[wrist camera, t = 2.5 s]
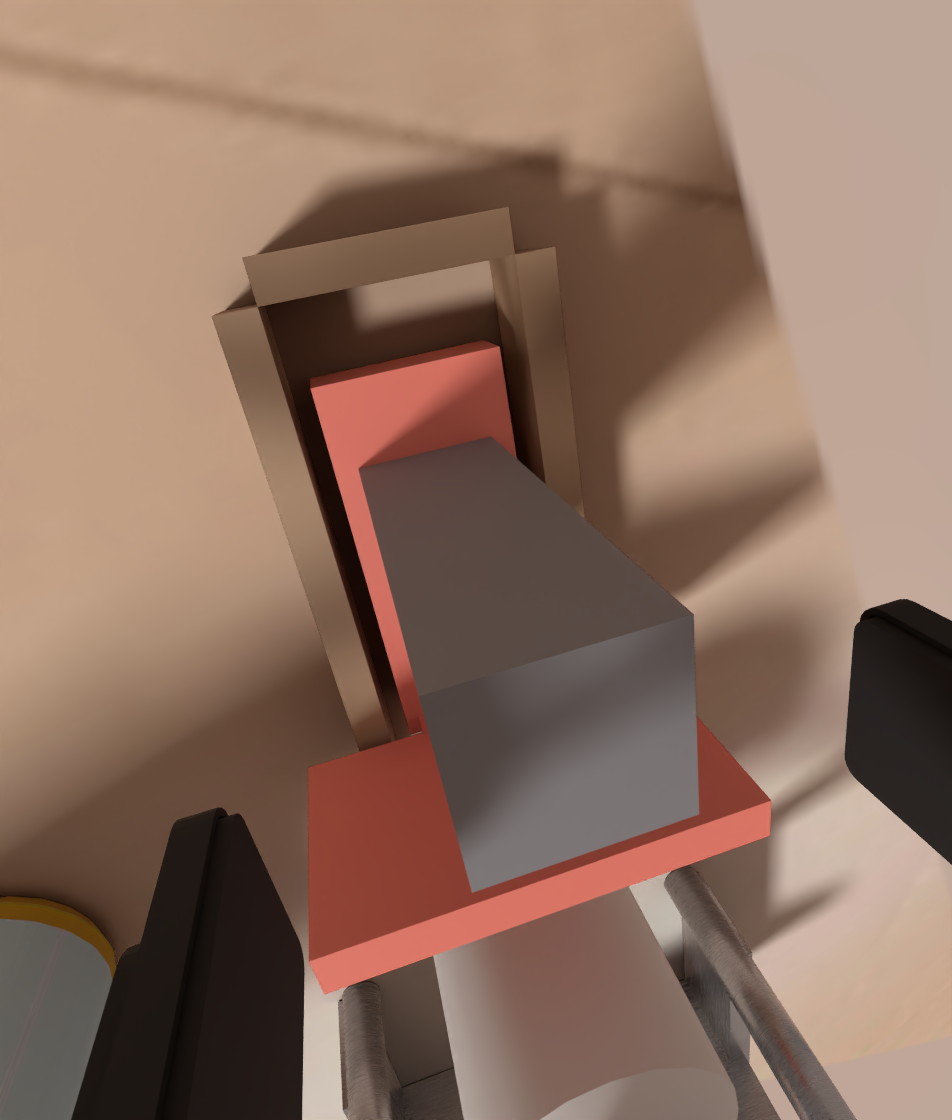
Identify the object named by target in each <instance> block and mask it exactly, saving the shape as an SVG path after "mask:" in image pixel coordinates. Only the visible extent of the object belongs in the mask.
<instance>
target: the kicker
mask: <svg viewBox="0 0 952 1120" xmlns="http://www.w3.org/2000/svg"><path fill="white" fill-rule="evenodd" d="M310 389H311V392H312V396H313V399H314V403H315V406H316V409H317V413H318V416H319V420H320V423H321V427H322V430H323V434H324V437H325V441H326V444H327V448H328V451H329V454H330V458H331V461H332V465H333V468H334V472H335V475H336V479H337V482H338V486H339V489H340V493H341V496H342V499H343V503H344V506H345V510H346V513H347V517H348V520H349V524H350V527H351V531H352V534H353V538H354V541H355V544H356V548H357V551H358V555H359V558H360V562H361V565H362V569H363V572H364V576H365V579H366V583H367V586H368V589H369V593H370V596H371V600H372V603H373V607H374V610H375V614H376V617H377V621H378V624H379V627H380V631H381V634H382V638H383V641H384V645H385V648H386V652H387V655H388V659H389V662H390V666H391V669H392V672H393V676H394V679H395V683H396V686H397V690H398V693H399V697H400V700H401V704H402V707H403V711H404V714H405V717H406V721H407V724H408V728H409V731H410V735H411V734H414V733H417V732H421V731H422V732H423V733H420V734H416V735H413V736H410V737H407V738H403V739H400V740H397V741H393V742H390V743H387V744H384V745H380V746H377V747H374V748H371V749H367V750H364V751H361V752H358V753H354V754H351V755H348V756H344V757H341V758H338V759H335V760H331V761H328V762H325V763H322V764H318V765H315V766H312V767H308V873H309V963H310V965H311V967H312V969H313V971H314V974H315V976H316V978H317V980H318V982H319V984H320V986H321V988H322V990H323V992H324V994H327V993H330V992H333V991H336V990H339V989H341V988H344V987H347V986H350V985H353V984H355V983H358V982H361V981H364V980H367V979H369V978H372V977H375V976H378V975H381V974H383V973H386V972H389V971H392V970H395V969H397V968H400V967H403V966H406V965H409V964H411V963H414V962H417V961H420V960H423V959H426V958H428V957H431V956H434V955H437V954H440V953H442V952H445V951H448V950H451V949H454V948H456V947H459V946H462V945H465V944H468V943H470V942H473V941H476V940H479V939H482V938H484V937H487V936H490V935H493V934H496V933H498V932H501V931H504V930H507V929H510V928H512V927H515V926H518V925H521V924H524V923H526V922H529V921H532V920H535V919H538V918H541V917H543V916H546V915H549V914H552V913H555V912H557V911H560V910H563V909H566V908H569V907H571V906H574V905H577V904H580V903H583V902H585V901H588V900H591V899H594V898H597V897H599V896H602V895H605V894H608V893H611V892H613V891H616V890H619V889H622V888H625V887H627V886H630V885H633V884H636V883H639V882H642V881H644V880H647V879H650V878H653V877H656V876H658V875H661V874H664V873H667V872H670V871H672V870H675V869H678V868H681V867H684V866H686V865H689V864H692V863H695V862H698V861H700V860H703V859H706V858H709V857H712V856H714V855H717V854H720V853H723V852H726V851H728V850H731V849H734V848H737V847H740V846H742V845H745V844H748V843H751V842H754V841H757V840H759V839H762V838H765V837H768V836H770V821H771V800H770V799H769V797H768V796H767V795H766V794H765V793H764V792H763V791H762V790H761V788H760V787H759V786H758V785H757V784H756V783H755V782H754V780H753V779H752V778H751V777H750V776H749V775H748V774H747V773H746V771H745V770H744V769H743V768H742V767H741V766H740V765H739V763H738V762H737V761H736V760H735V759H734V758H733V757H732V756H731V754H730V753H729V752H728V751H727V750H726V749H725V748H724V746H723V745H722V744H721V743H720V742H719V741H718V740H717V739H716V737H715V736H714V735H713V734H712V733H711V732H710V731H709V729H708V728H707V727H706V726H705V725H704V724H703V723H702V722H701V720H700V719H699V718H698V717H697V716H696V684H695V648H694V614H693V613H691V612H690V611H689V610H688V609H687V608H686V607H685V606H683V605H682V604H681V603H680V602H679V601H678V600H677V599H675V598H674V597H673V596H672V595H671V594H670V593H669V592H668V591H666V590H665V589H664V588H663V587H662V586H661V585H660V584H658V583H657V582H656V581H655V580H654V579H653V578H652V577H650V576H649V575H648V574H647V573H646V572H645V571H644V570H643V569H641V568H640V567H639V566H638V565H637V564H636V563H635V562H633V561H632V560H631V559H630V558H629V557H628V556H627V555H625V554H624V553H623V552H622V551H621V550H620V549H619V548H618V547H616V546H615V545H614V544H613V543H612V542H611V541H610V540H608V539H607V538H606V537H605V536H604V535H603V534H602V533H600V532H599V531H598V530H597V529H596V528H595V527H594V526H593V525H591V524H590V523H589V522H588V521H587V520H586V519H585V518H583V517H582V516H581V515H580V514H579V513H578V512H577V511H575V510H574V509H573V508H572V507H571V506H570V505H569V504H568V503H566V502H565V501H564V500H563V499H562V498H561V497H560V496H558V495H557V494H556V493H555V492H554V491H553V490H552V489H550V488H549V487H548V486H547V485H546V484H545V483H544V482H543V481H541V480H540V479H539V478H538V477H537V476H536V475H535V474H533V473H532V472H531V471H530V470H529V469H528V468H527V467H525V466H524V465H523V464H522V463H521V462H520V461H519V460H518V459H517V457H516V450H515V444H514V437H513V431H512V424H511V418H510V411H509V405H508V398H507V392H506V385H505V379H504V372H503V366H502V359H501V353H500V346H497V345H494V344H492V343H489V342H487V341H484V340H481V341H477V342H472V343H468V344H463V345H459V346H454V347H450V348H445V349H441V350H436V351H432V352H427V353H423V354H418V355H413V356H409V357H404V358H400V359H395V360H391V361H386V362H382V363H377V364H373V365H368V366H364V367H359V368H355V369H350V370H346V371H341V372H337V373H332V374H327V375H323V376H318V377H314V378H310Z"/></svg>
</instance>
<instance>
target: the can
mask: <svg viewBox="0 0 952 1120" xmlns="http://www.w3.org/2000/svg"><path fill="white" fill-rule="evenodd" d="M433 957H434V962H435V967H436V973H437V978H438V983H439V989H440V994H441V999H442V1005H443V1010H444V1016H445V1021H446V1026H447V1032H448V1037H449V1042H450V1048H451V1053H452V1058H453V1064H454V1069H455V1074H456V1080H457V1085H458V1090H459V1096H460V1101H461V1106H462V1112H463V1117H464V1120H737V1117H738V1109H739V1108H738V1102H737V1097H736V1091H735V1087H734V1086H733V1084H732V1082H731V1080H730V1078H729V1076H728V1074H727V1072H726V1070H725V1068H724V1067H723V1065H722V1063H721V1061H720V1059H719V1057H718V1055H717V1053H716V1051H715V1049H714V1048H713V1046H712V1044H711V1042H710V1040H709V1038H708V1036H707V1034H706V1032H705V1031H704V1029H703V1027H702V1025H701V1023H700V1021H699V1019H698V1017H697V1015H696V1013H695V1012H694V1010H693V1008H692V1006H691V1004H690V1002H689V1000H688V998H687V996H686V994H685V993H684V991H683V989H682V987H681V985H680V983H679V981H678V979H677V977H676V976H675V974H674V972H673V970H672V968H671V966H670V964H669V962H668V960H667V958H666V957H665V955H664V953H663V951H662V949H661V947H660V945H659V943H658V941H657V939H656V938H655V936H654V934H653V932H652V930H651V928H650V926H649V924H648V922H647V920H646V919H645V917H644V915H643V913H642V911H641V909H640V907H639V905H638V903H637V902H636V900H635V898H634V896H633V894H632V892H631V890H630V888H629V886H627V887H625V888H622V889H619V890H616V891H613V892H611V893H608V894H605V895H602V896H599V897H597V898H594V899H591V900H588V901H585V902H583V903H580V904H577V905H574V906H571V907H569V908H566V909H563V910H560V911H557V912H555V913H552V914H549V915H546V916H543V917H541V918H538V919H535V920H532V921H529V922H526V923H524V924H521V925H518V926H515V927H512V928H510V929H507V930H504V931H501V932H498V933H496V934H493V935H490V936H487V937H484V938H482V939H479V940H476V941H473V942H470V943H468V944H465V945H462V946H459V947H456V948H454V949H451V950H448V951H445V952H442V953H440V954H437V955H434V956H433Z"/></svg>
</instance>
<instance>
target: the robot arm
mask: <svg viewBox="0 0 952 1120" xmlns="http://www.w3.org/2000/svg"><path fill="white" fill-rule="evenodd" d="M845 761H846V764H847V766H848V768H849V771H850V772H851V773H852V775H853V776H854V777H855V778H856V779H857V781H859V782H860V783H861V784H862V785H863V786H864V787H865V788H866V789H868V790H869V791H870V792H871V793H872V794H873V795H874V796H875V797H876V798H878V799H879V800H880V801H881V802H882V803H883V804H884V805H885V806H887V807H888V808H889V809H890V810H891V811H892V812H893V813H894V814H895V815H897V816H898V817H899V818H900V819H901V820H902V821H903V822H904V823H906V824H907V825H908V826H909V827H910V828H911V829H912V830H913V831H915V832H916V833H917V834H918V835H919V836H920V837H921V838H922V839H923V840H925V841H926V842H927V843H928V844H929V845H930V846H931V847H932V848H934V849H935V850H936V851H937V852H938V853H939V854H940V855H941V856H942V857H944V858H945V859H946V860H947V861H948V862H949V863H950V864H952V621H951V620H949V619H947V618H945V617H943V616H941V615H939V614H937V613H935V612H933V611H931V610H929V609H927V608H925V607H923V606H921V605H919V604H917V603H916V602H913V601H910V600H908V599H899V600H896V601H893V602H890V603H886V604H883V605H880V606H876V607H873V608H870V609H868V610H866V611H864V613H863V614H862V615H861V618H860V622H859V623H857V625H856V626H855V629H854V638H853V651H852V664H851V678H850V691H849V704H848V717H847V730H846V743H845ZM303 1026H304V959H303V953H302V948H301V944H300V942H299V939H298V937H297V935H296V932H295V930H294V928H293V926H292V924H291V921H290V919H289V917H288V915H287V913H286V911H285V908H284V906H283V904H282V902H281V900H280V897H279V895H278V893H277V891H276V889H275V887H274V884H273V882H272V880H271V878H270V876H269V873H268V871H267V869H266V867H265V865H264V863H263V860H262V858H261V856H260V854H259V852H258V849H257V847H256V845H255V843H254V841H253V839H252V836H251V834H250V832H249V830H248V828H247V826H246V823H245V821H244V819H243V818H242V816H241V815H240V814H234V815H231V816H228V814H227V813H226V811H225V810H224V809H223V808H215V809H212V810H209V811H206V812H202V813H199V814H196V815H192V816H189V817H186V818H183V819H179V820H177V821H176V822H175V823H174V825H173V827H172V829H171V833H170V837H169V840H168V844H167V848H166V851H165V855H164V859H163V863H162V866H161V870H160V874H159V877H158V881H157V885H156V888H155V892H154V896H153V900H152V903H151V907H150V911H149V914H148V918H147V922H146V925H145V929H144V933H143V937H142V940H141V943H140V944H137V945H135V946H132V947H130V948H128V949H127V950H126V951H125V953H124V954H123V955H122V956H121V958H120V960H119V963H118V965H117V968H116V970H115V973H114V977H113V980H112V983H111V987H110V990H109V993H108V997H107V1000H106V1003H105V1007H104V1010H103V1014H102V1017H101V1020H100V1024H99V1027H98V1030H97V1034H96V1037H95V1041H94V1044H93V1047H92V1051H91V1054H90V1057H89V1061H88V1064H87V1067H86V1071H85V1074H84V1078H83V1081H82V1084H81V1088H80V1091H79V1094H78V1098H77V1101H76V1104H75V1108H74V1111H73V1115H72V1118H71V1120H302V1086H303Z"/></svg>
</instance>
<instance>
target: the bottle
mask: <svg viewBox="0 0 952 1120" xmlns="http://www.w3.org/2000/svg"><path fill="white" fill-rule="evenodd" d="M115 970H116V961H115V956H114V951H113V949H112V946H111V945H110V944H109V942H108V941H107V940H106V938H105V937H104V936H103V934H102V933H101V932H100V931H99V929H98V928H97V927H96V926H95V924H94V923H93V922H92V921H91V920H90V919H89V918H87V917H86V916H84V915H82V914H81V913H79V912H78V911H76V910H75V909H73V908H71V907H69V906H66V905H62V904H59V903H56V902H52V901H49V900H46V899H42V898H28V897H17V896H7V897H0V1120H71V1118H72V1115H73V1111H74V1108H75V1104H76V1101H77V1098H78V1094H79V1091H80V1088H81V1084H82V1081H83V1078H84V1074H85V1071H86V1067H87V1064H88V1061H89V1057H90V1054H91V1051H92V1047H93V1044H94V1041H95V1037H96V1034H97V1030H98V1027H99V1024H100V1020H101V1017H102V1014H103V1010H104V1007H105V1003H106V1000H107V997H108V993H109V990H110V987H111V983H112V980H113V977H114V973H115Z"/></svg>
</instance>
